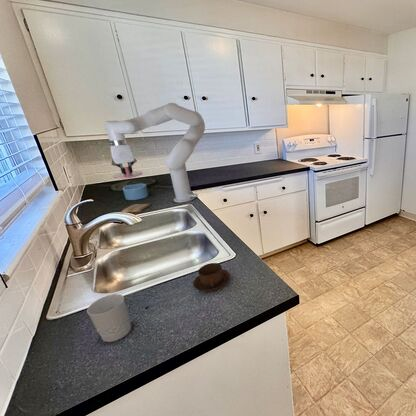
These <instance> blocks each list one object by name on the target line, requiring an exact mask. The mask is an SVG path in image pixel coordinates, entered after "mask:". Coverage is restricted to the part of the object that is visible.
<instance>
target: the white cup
mask: <svg viewBox="0 0 416 416" xmlns="http://www.w3.org/2000/svg"><path fill="white" fill-rule="evenodd" d="M86 312H87V315H88V317H89V319H90V321H91V322H92V325H93V326H94V328H95V330H96V332H97V333H98V334H99V337H100V338H101V340H102V341H103V342H105V343H111V342H116V341H118V340H120V339H123V338H124V337H125V336H127V334H129V333H130V331H131V330H132V323H131V318H130V315H129V309H128V307H127V303H126V299H125V297H124V295H123V294H118V293H115V294H110V295H109V294H108V295H106V296H103V297H101V298H99V299H97V300H95V301H94V302H92V303H91V304H90V305H89V306H88V307H87V309H86Z"/></svg>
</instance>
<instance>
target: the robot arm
mask: <svg viewBox="0 0 416 416" xmlns="http://www.w3.org/2000/svg"><path fill="white" fill-rule="evenodd" d="M173 120H175V121H177V122H179V123H183V124H186V125H187V126H189V127H188V129H187V131H186V132H185V133H184V135H183V136H182V137H181V139H179V140H178V142H177V143H176V144H175V146H174V147H173V148H172V150H171V151H170V152H169V154H168V155H167V156H166V158H165V160H164V163H165V166H166V167H167V168H168V170H169V174H170V178H171V183H172V188H173V191H174V195H175V197H174V198H173V202H175V203H178V204H179V203H189V202H191V201H193V200H195V198H199V197H198V196H199V194H198V193H194V192H193V191H192V190H191V185H190V181H189V176H188V172H187V165H186V162H187V161H188V160H189V158H190V157H191V156H192V154H193V152H194V150H195V147H196V146H197V145H198V143H199V142H200V140H201V139H202V138H203V136H204V134H205V129H206V124H205V121H204V119H203V116H202V114H200V113H199V112H198V111H196V110H192V109H188V108H186V107H184V106H181V105H178V104H177V103H175V102H169V103H167V104H164V105H162V106H159V107H156V108H153V109H150V110H148V111H146V112H145V113H144V114H141V115H138V116H135V117H133V118H132V117H131V118H130V119H125V120H107V121H105V122H104V127H105V130H106V134H107V137H108V141H107V142H106V144H107V145H110V146H109V150H110V155H111V162H110V164H111V165H112V166H115V167H118V168H120V172H121V173H123V174H124V175H126V173H125V169H124V168H123V167H124V166H123V164H125V163H127V165H128V166H127V167H129V170H130V173H131V174H132V172H134V170H133V165H134V164H135V163H137V162H138V160H137V159H136V158H135V157H134V153H133V151H132V148H131V146H130V145H129V143H127V140H126V136H125V134H127V135H128V134H129V135H130V134H131V135H133V134H134V133H137V132H140V131H142V130H145V129H148V128H151V127H156V126H159V125H161V124H164V123H166V122H167V123H168V122H169V121H173Z"/></svg>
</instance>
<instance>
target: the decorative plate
mask: <svg viewBox="0 0 416 416" xmlns="http://www.w3.org/2000/svg"><path fill="white" fill-rule="evenodd" d="M156 183H157V182H156V179H153V178H135V179H134V178H133V179H128V180H123V181H119V182H117V183H114V184H112V185H111V186H110V190H111V191H113V192H123V189H122V188H123V187H125V186H129V185H134V184H146V186H147V188H150V187H151V186H154V185H156Z"/></svg>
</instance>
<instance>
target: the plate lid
mask: <svg viewBox="0 0 416 416" xmlns="http://www.w3.org/2000/svg"><path fill="white" fill-rule="evenodd" d="M123 168H124V169H125V173H126V175H124V174H123V173H122V172H121V173H117V174H114V175H113V176H112V178H113V179H120V180H121V179H130V178H136V177H139V176H141V175H143V172H142V171H139V170H137V171H135V170H133V172H132V174H131V173H130V170H129V167H128V166H123Z"/></svg>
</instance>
